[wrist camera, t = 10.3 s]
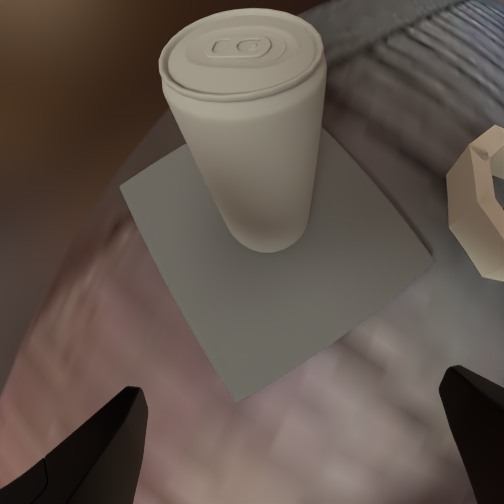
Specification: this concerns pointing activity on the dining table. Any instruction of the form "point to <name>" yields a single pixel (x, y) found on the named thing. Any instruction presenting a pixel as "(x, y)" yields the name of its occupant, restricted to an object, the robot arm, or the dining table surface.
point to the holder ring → (479, 203)
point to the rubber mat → (274, 265)
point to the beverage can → (251, 117)
